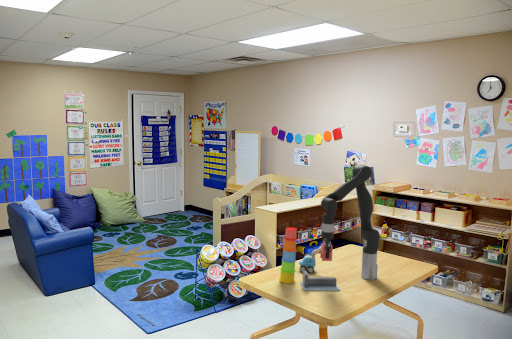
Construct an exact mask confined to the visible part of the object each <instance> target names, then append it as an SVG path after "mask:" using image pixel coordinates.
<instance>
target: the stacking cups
mask: <svg viewBox="0 0 512 339" xmlns="http://www.w3.org/2000/svg"><path fill="white" fill-rule="evenodd" d="M284 232H285V233H284V235H285V236H284V238H283V239H284V242H283V243H284V244H283V248H282V250H283V251H282V258H281V268H279V270H280V274H279V275H280V277H279V279H278V280H279V282H280V283H282V284H286V285H292V284H295V282H296V279H295V275H296V274H295V273H296V262H297V260H296V254H297V240H298V239H297V233H298V229H297V228H296V227H293V226H287V227H286V228H285V231H284Z"/></svg>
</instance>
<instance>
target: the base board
mask: <svg viewBox="0 0 512 339" xmlns="http://www.w3.org/2000/svg"><path fill="white" fill-rule="evenodd" d="M299 283H300V286H301V289H302V291H304V292H310V291H311V292H315V291H316V292H323V291H324V292H326V291H327V292H328V291H329V292H334V291H335V292H340V291H341V290H340V286H338V285H337V283H336V286H308V288H306V287H304V285H303V281H300V282H299Z"/></svg>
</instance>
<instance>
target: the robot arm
mask: <svg viewBox="0 0 512 339" xmlns="http://www.w3.org/2000/svg"><path fill="white" fill-rule="evenodd" d="M372 170H373V169H372V168H371V166H368V165H362V164H357V165H355V166H354V167H353V168H352V177H353V178H352V179H350V180H348V181H346V182H344V183H342V184H341V185H339V186H338V187H337V188H336V189H335V190H334V191H332V192H331V193H330V194H326V196H324V197H323V198H322V200H321V201H320V206H321V208H323V209H324V210H326V212H325V213H323V214H322V219H321V223H322V224H321V234H320V237H321V239H322V244H325V249H326V256H325V258H326V259H329V253H331V245H332V242H331V240H333V239H334V234H335V232H334V231H335V225H334V224H335V215H336V213H337V209H338V203H337V202H341V201H342V200H344V198H346V197H347V196H348V194H350V193H351V192H352V191H353V190H355V191H356V196H357V205H358V211H359V218H360V234H361V237H362V239H363V240H364V241H366V244H365V246H363V247H362V256H361V274H360V275H361V278H362V279H363V280H369V281H373V280H378V263H377V262H378V250H379V247H380V239H381V238H380V232H379V230H377V229H375V228H373V226H372V220H371V219H372V215H373V213H374V203H373V202H374V201H373V197H372V195H371V193H370V192H369V189H368V188H367V185H366V181H368V180H369V179H370V178H371V177H372V175H373V171H372ZM326 246H327V247H326ZM328 249H329V251H328Z"/></svg>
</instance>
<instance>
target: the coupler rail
mask: <svg viewBox="0 0 512 339" xmlns="http://www.w3.org/2000/svg"><path fill="white" fill-rule="evenodd" d="M302 282H303V285H304V287H306V288H308V286H336V284H337V278H336V277H334V276H333V277H332V276H331V277H329V276H327V277H326V276H325V277H323V276H322V277H320V276H317V277H316V276H313V277H312V276H310V277H309V272H308V270H305V271H303V272H302Z"/></svg>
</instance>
